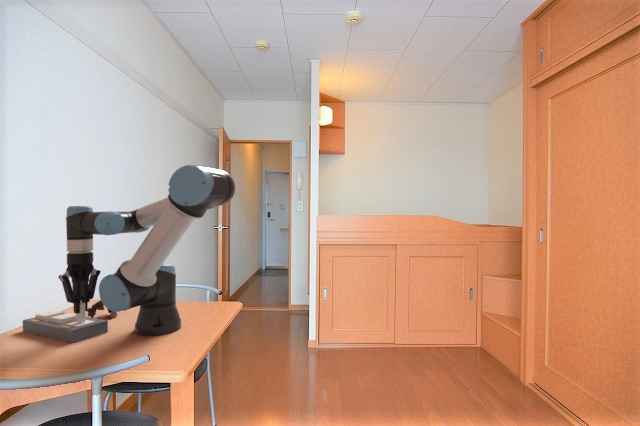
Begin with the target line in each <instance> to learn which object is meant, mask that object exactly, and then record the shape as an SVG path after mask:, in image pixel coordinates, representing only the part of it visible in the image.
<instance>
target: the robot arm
mask: <svg viewBox="0 0 640 426" xmlns="http://www.w3.org/2000/svg"><path fill="white" fill-rule="evenodd" d="M168 186H169V188H168V195H167V197H165V198H162V199H160V200H157V201H155V202H152V203H149V204H147V205H144V206H142V207H139V208H137V209H134V210H131V211H94V210H93V206H91V205H71V206H68V207H67V208H66V217H65V220H66V221H65V222H66V224H65V225H66V251H67V252H68V253H67V254H66V265H67V267H66V269H65V272H64V273H63V274H59V275H58V277H57V278H58V279H59V280H60V281H61V283H62V288H63V291H64V294H65V298H66V302H67V303H69V304H73V314H76V322H78V323H84V322H86V320H85V317H86V312H87V310H88V308H89V307H88V305H89V304H88V303H90V300H93V299H94V297H95V292H96V287H97V283H98V278H99V276H100V274H101V272H102V271H101V270H99V269H96V268H95V267H94V264H93V263H94V252H93V250H94V235H100V236H101V235H103V236H113V235H118V234H133V233H136V234H139V233H143V232H148V230H149V229H150V228H151V227H152V228H151V229H150V231H149V232H148V234H147V235H146V237H145V238H144V239H143V240H142V243H141V245H139V247H138V249H137V250H136V252H135V253H134V254H133V256H132V257H131V259H128V260H125V261H123V262H122V263H121V264H120V266H119V267H118V268H117V270H116V271H115V272H114V273H113V274H112V273H111V274H108V275H106V276H104V277H103V278H102V279H101V280H100V282H99V286H98V294H99V299H100V300H101V301H102V303H103V304H104V307H105V308H106V310H108V309H109V310H110V311H113V312H116V313H119V312H125V311H129V310H131V309H134V308H137V307H139V311H138V314H137V317H136V322H135V323H134V333H135V334H136V335H141V336H158V335H159V336H160V335H165V334H169V333H172V332H176V331H178V330H179V329H181V328H182V319H181V317H180V313H179V311H178V307H177V298H176V297H177V296H176V295H177V291H176V289H177V288H176V287H177V286H176V285H177V284H176V283H177V281H176V278H177V274H176V267H175V265H174V264H169V263H164V262H165V261H166V260H167V259H168V257H169V256H170V254H171V253H172V251H173V250H174V249H175V247H176V246H177V245H178V243H179V242H180V241H181V238H182V237H183V236H184V235H185V234H186V232H187V230H188V229H189V227H190V226H191V225H192V223H193V222H194V221H195V220H196V219H197V220H198V219H201V218H203V216H204V215H206V213H207V211H208V210H210V209H211V210H212V209H214V208H217V207H220V206H223V205H226V204H228V203H230V201H232V199H233V197H234V195H235V194H236V193H235V192H236V184H235V180H234V178H233V176H231V175H230V174H229V173H228V172H227V171H225V170H222V169H218V168H213V167H206V166H204V165H199V164H188V165H183V166H181V167H179V168H178V169H176V170H175V171H174V172H173V174H172V175H171V176H170V178H169V182H168ZM70 278H71V280H70ZM71 283H72V284H71Z"/></svg>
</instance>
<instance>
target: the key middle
mask: <svg viewBox="0 0 640 426" xmlns="http://www.w3.org/2000/svg"><path fill="white" fill-rule="evenodd" d="M65 313H66V314H62V315H58V316H54V317H50V318H51V322H53V323H57V324H63V323H67V322H71V321H75V320H76V313H70V312H65Z"/></svg>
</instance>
